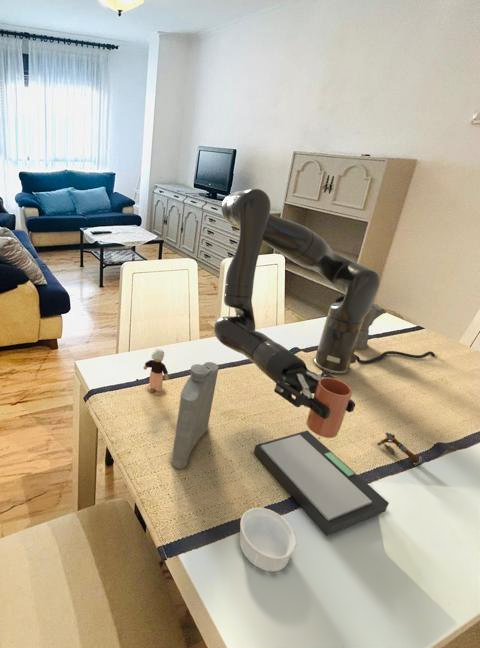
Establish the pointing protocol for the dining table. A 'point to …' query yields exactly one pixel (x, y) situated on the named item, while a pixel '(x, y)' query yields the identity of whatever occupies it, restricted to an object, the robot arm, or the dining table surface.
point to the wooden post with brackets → (401, 447)
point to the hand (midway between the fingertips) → (340, 411)
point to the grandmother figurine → (157, 372)
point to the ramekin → (266, 539)
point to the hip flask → (194, 411)
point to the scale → (320, 482)
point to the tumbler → (330, 407)
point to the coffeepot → (366, 323)
